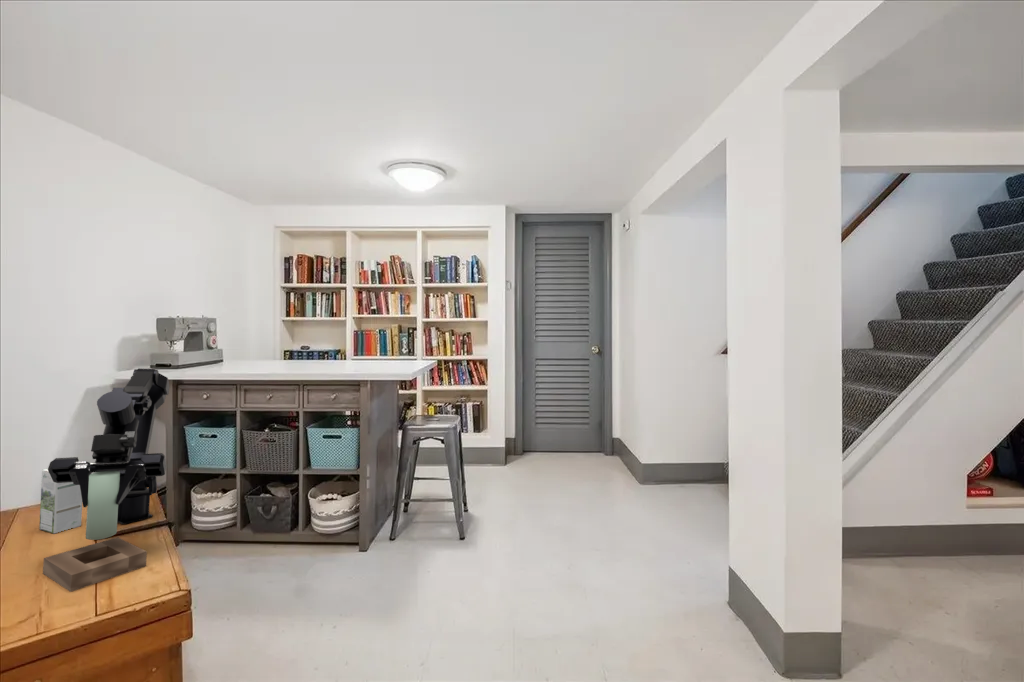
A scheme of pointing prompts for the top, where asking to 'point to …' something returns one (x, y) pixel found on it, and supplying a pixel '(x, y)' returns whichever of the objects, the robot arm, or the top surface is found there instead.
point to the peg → (102, 505)
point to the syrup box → (59, 505)
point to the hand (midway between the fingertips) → (101, 505)
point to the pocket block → (93, 563)
